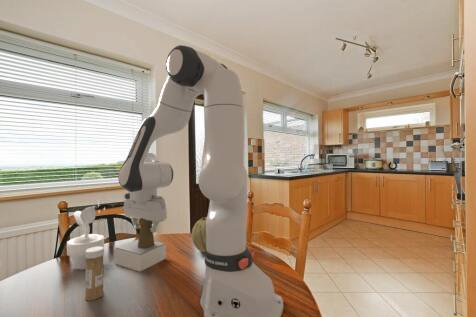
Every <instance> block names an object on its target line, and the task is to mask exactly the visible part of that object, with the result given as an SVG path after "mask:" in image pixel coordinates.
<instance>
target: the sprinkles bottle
mask: <svg viewBox="0 0 476 317" xmlns="http://www.w3.org/2000/svg"><path fill="white" fill-rule="evenodd" d="M104 255H105V246H104V247H101V246H98V247H92V248H89V249H87V250H86V251H85V258H86V269H85V283H84V284H85V296H84V297H85V300H87V301H95V300H97V299H99V298H101V297H102V296H103V295H104V293H105V291H104Z"/></svg>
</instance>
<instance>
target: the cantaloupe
mask: <svg viewBox="0 0 476 317" xmlns="http://www.w3.org/2000/svg"><path fill="white" fill-rule="evenodd" d="M206 220H207V216H205V217H204V216H203V217H201V218H200V219H199V220H197V221H196V222H195V223H194V225H193V227H192V229H191V240H192V243H193V245H194V247H195V248H196V249H197V250H198V251H200V252H201V253H202V252H203V253H205V248H206Z"/></svg>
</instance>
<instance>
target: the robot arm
mask: <svg viewBox="0 0 476 317" xmlns="http://www.w3.org/2000/svg"><path fill="white" fill-rule="evenodd" d="M165 69H166V70H165V71H166V74H167V78H166V80H165V82H164V85H163V87H162V89H161V92H160V96H159V98H158V102H157V106H156V108H155V109H154V111H153V112H152V114H150V115H149V116H147V117H146V118H144V120H142V123H141V124H140V126H139V129H138V131H137V133H136V135H135V138H134V140H133V143H132V145H131V148H130V149H129V152H128V155H127V157H126V159H125V161H124V163H122V165H121V167H120V169H119V172H118V184H119V185H120V186H121V187H122V189H124V190H125V191H127V192H126V193H124V194H123V199H124V202H123V213H124V216H125V217H126V218H130V219H131V223H132V225H133V229H134V230H140V225H139V220H140V218H143V219H145V220H149V221H152V227H151V228H150V232H152V233H153V234H154V233H157V230H158V229H157V228H158V226H159V224H160V223H161V222H164V221H166V220H167V217H168V216H167V215H168V214H167V213H168V211H167V205H166V200H165V198H164V197H163V196H158V189H160V188H166V187H169V186H170V185H171V184H172V182H173V180H174V170H173V167H172V165H171V164H170V163H169V162H165V161H163V160H160V159H159V158H157V156H156V154H154V153H153V152H152V153H150V149H151V146H152V145H153V143H154V142H155V141H157V140H158V139H160V138H162V137H164V136H168V135H171V134H175V133H178V132H181V131H182V130H183V129H184V128H186V126H187V125H188V124H189V122H190V118H191V116H192V111H193V107H194V103H195V101H196V98H197V97H198V96H200V95H203V117H204V118H203V120H204V123H203V124H204V142H203V150H202V159H201V166H200V167H201V168H200V171H199V172H200V173H199V175H198V187H199V189H200V192H201V193H202V195H203V196H204V197H205V198H207V199H208V200H209V206H208V212H207V216H206V217H207V220H206V248H205V252H204V264H205V274H204V275H205V276H204V281H203V288H202V293H201V297H200V300H199V302H200V306H201V308H202V310H203V317H282V314H283V311H284V300H283V297H282V296H281V295H278V294H277V293H275V287H274V283H273V280H272V279H271V278H270V277H269V276H268V275H267V274H266V273H265V272H263V270H262V269H260V268H259V267H258V266H257V265H256V264H255V263H254V262H253V257H255V250H253V251H252V252H250V250H249V249H248V247H247V209H248V207H247V206H248V205H247V203H248V173H247V172H248V171H247V169H246V167H245V165H244V150H245V122H244V121H245V120H244V119H245V116H244V115H245V114H244V101H243V92H242V87H241V83H240V78H239V76H238V75H237V73H236V72H235V71H233V70H232V69H230V68H228V67H227V66H226V65H225V64H224V63H220V62H219V61H218V60H216V59H214V58H212V57H211V56H210V55H208V54H206V53H204V52H202V51H199V50H196V49H194V47H191V46H187V45H183V44H182V45H176V46H174V47H173V48H172V49H171V50H170V52H169V53H168V55H167V58H166V61H165Z"/></svg>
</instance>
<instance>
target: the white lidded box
mask: <svg viewBox="0 0 476 317" xmlns="http://www.w3.org/2000/svg"><path fill="white" fill-rule="evenodd" d="M138 240H139V238H138V239H135V240H133V241H130V242H126V243H124V244H120V245H118V246H115V248H114V264H115V265H118V266H122V267H124V268H127V269H131V270H133V271H136V272H142V271H145V270H146V269H148V268H150V267H152V266H154V265H157V264H159V263H160V262H162V261H165V260H166V259H167V255H166V254H167V251H166V250H167V249H166V247H167V244H166V243H164V242H160V241H156V240H154V246H152V247H149V248H138Z"/></svg>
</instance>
